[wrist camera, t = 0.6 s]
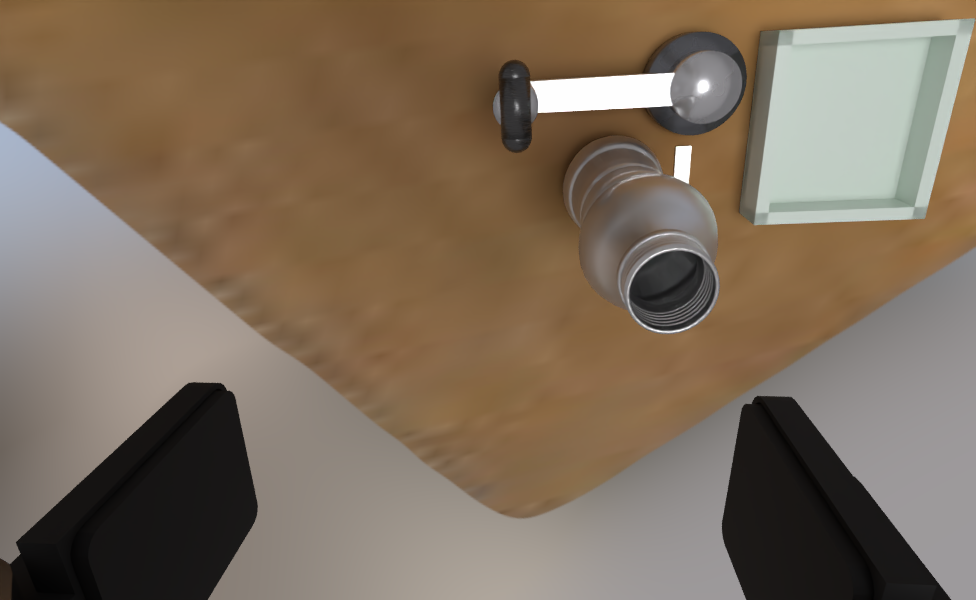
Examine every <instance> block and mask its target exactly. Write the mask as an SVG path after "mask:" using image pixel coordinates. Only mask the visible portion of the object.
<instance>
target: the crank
mask: <svg viewBox="0 0 976 600" xmlns="http://www.w3.org/2000/svg"><path fill="white" fill-rule="evenodd" d="M741 89H742V75H741V71H740V69H739V67H738V65H737V63H736V62H735V61H734V60H733V59H732V58H731V57H730V56H728V55H727V54H725V53H722V52H718V51H709V50H698V51H693V52H690V53H688V54H686V55H684V56H682V57H681V58H680V59H678V60H677V61H676V62H675V63H674V64H673V66H672V67H671V69H670V70H669V72H660V73H642V74H625V75H608V76H591V77H574V78H556V79H539V80H530V72H529V69H528V67H527V66H526V65H525V64H524V63H523V62H521V61H518V60H511V61H508V62H506V63H505V64H504V65H503V66H502V67H501V69H500V72H499V90H498V92H497V94H496V96H495V98H494V101H493V112H494V115H495V118H496V120H497V121H498V122H499V123H500V124H501V137H502V142H503V145H504V147H505V148H506V149H507V150H509V151H511V152H514V153H519V152H523V151H524V150H526V149H527V148H528V147H529V145H530V143H531V140H532V127H531V123H532V122H533V121H534V120H535V118H536V116H537V113H544V112H562V111H581V110H600V109H618V108H637V107H656V106H669V108H670V109H671V110H672V111H673V112H674V113H675V114H676V115H678V116H680V117H682V118H684V119H685V120H687V121H690V122H693V123H697V124H706V123H711V122H714V121H717V120H719V119H721V118H722V117H724V116H725V115H726V114H727V113H729V112H730V111H731V109H732V108H733V107H734V106H735V104H736V102H737V101H738V99H739V96H740V93H741Z"/></svg>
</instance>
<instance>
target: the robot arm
mask: <svg viewBox="0 0 976 600" xmlns="http://www.w3.org/2000/svg"><path fill="white" fill-rule="evenodd" d="M257 508H258V505H257V499H256V495H255V489H254V485H253V480H252V475H251V471H250V466H249V461H248V457H247V452H246V447H245V442H244V437H243V432H242V428H241V423H240V418H239V414H238V409H237V404H236V399H235V396H234V394H233V393H232V392H231V391H227V390H226V388H225V386H224V385H222V384H221V383H196V382H193V383H188V384H187V385H185V386H184V387H183V388H182V389H181V390H180V391H179V392H178V393H176V394H175V395H174V396H173V397H172V398H171V399H170V400H169V401H168V402H167V403H166V404H165V405H163V406H162V408H160V409H159V410H158V411H157V412H156V413H155V414H154V415H153V416H152V417H151V418H149V419H148V420H147V421H146V422H145V423H144V424H143V425H142V426H141V427H140V428H139V429H138V430H136V432H134V433H133V434H132V435H131V436H130V437H129V438H128V439H127V440H126V441H125V442H124V443H122V444H121V445H120V446H119V447H118V448H117V449H116V450H115V451H114V452H113V453H112V454H111V455H109V456H108V457H107V458H106V459H105V460H104V461H103V462H102V463H101V464H100V465H99V466H98V467H97V468H95V470H93V471H92V472H91V473H90V474H89V475H88V476H87V477H86V478H85V479H84V480H83V481H81V482H80V483H79V484H78V485H77V486H76V487H75V488H74V489H73V490H72V491H71V492H70V493H68V494H67V495H66V496H65V497H64V498H63V499H62V500H61V501H60V502H59V503H58V504H57V505H56V506H54V507H53V508H52V509H51V510H50V511H49V512H48V513H47V514H46V515H45V516H44V517H43V518H42V519H40V520H39V521H38V522H37V523H36V524H35V525H34V526H33V527H32V528H31V529H30V530H29V531H27V533H25V534H24V535H23V536H22V537H21V538H20V539H19V540H18V541H17V542H16V544H17V546H18V549H19V551H20V553H21V554H20V555H19V556H18V557H17V558H16V559H15V560H14V561H13V562H12V563H11V564H9V563H7V562H6V561H4V560H3V559H1V558H0V600H208V598H209V597H210V595H211V593H212V592H213V590H214V588H215V587H216V585H217V583H218V582H219V580H220V579H221V577H222V575H223V573H224V572H225V570H226V569H227V567H228V565H229V564H230V562H231V560H232V559H233V557H234V555H235V554H236V552H237V551H238V549H239V547H240V545H241V544H242V542H243V540H244V539H245V537H246V536H247V534H248V532H249V531H250V529H251V528H252V526H253V524H254V522H255V519H256V516H257ZM722 534H723V540H724V544H725V547H726V549H727V551H728V554H729V557H730V559H731V562H732V564H733V567H734V569H735V572H736V575H737V577H738V580H739V582H740V585H741V587H742V590H743V593H744V595H745V598H746V600H951V599H950V598H949V596H948V595H947V594H946V592H945V591H944V590H943V589H942V587H941V586H940V585H939V583H938V582H937V581H936V580H935V578H934V577H933V576H932V574H931V573H930V572H929V570H928V569H927V568H926V567H925V565H924V564H923V563H922V561H921V560H920V559H919V558H918V556H917V555H916V554H915V552H914V551H913V550H912V549H911V547H910V546H909V545H908V544H907V542H906V541H905V539H904V538H903V537H902V535H901V534H900V533H899V532H898V530H897V529H896V528H895V526H894V525H893V524H892V523H891V521H890V520H889V519H888V517H887V516H886V515H885V513H884V512H883V511H882V510H881V508H880V507H879V506H878V504H877V503H876V502H875V500H874V499H873V498H872V497H871V495H870V494H869V493H868V491H867V490H866V489H865V488H864V486H863V485H862V484H861V483H860V482H859V481H858V480H857V479H856V478H855V477H853V476H852V474H851V473H850V471H849V470H848V469H847V468H846V466H845V465H844V464H843V462H842V461H841V460H840V458H839V457H838V456H837V454H836V453H835V452H834V450H833V449H832V448H831V447H830V445H829V444H828V443H827V441H826V440H825V439H824V437H823V436H822V435H821V434H820V432H819V431H818V430H817V428H816V427H815V426H814V424H813V423H812V422H811V420H810V419H809V418H808V417H807V415H806V414H805V413H804V411H803V410H802V409H801V407H800V406H799V405H798V403H797V402H796V401H795V400H794V399H793V398H792V397H775V396H757V397H755V398H754V400H753V402H752V404H745V405H744V406H743V408H742V411H741V417H740V422H739V428H738V434H737V439H736V445H735V451H734V457H733V463H732V468H731V475H730V480H729V486H728V492H727V498H726V503H725V509H724V515H723V520H722Z"/></svg>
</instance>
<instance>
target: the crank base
mask: <svg viewBox="0 0 976 600" xmlns="http://www.w3.org/2000/svg"><path fill="white" fill-rule="evenodd" d="M698 50H709V51H718V52H722V53H725V54H727V55H728V56H730V57H731V58H732V59H733V60H734V61H735V62H736V63H737V65H738V67H739V69H740V71H741V75H742V89H741V93H740V96H739V99H738V101H737V102H736V104H735V106H734V107H733V108H732V109H731V111H730V112H729V113H727V114H726V115H725V116H724V117H722V118H721V119H719V120H717V121H714V122H711V123H706V124H697V123H693V122H690V121H687V120H685V119H684V118H682V117H680V116H678V115H676V114H675V113H674V112H673V111H672V110H671V109H670V108H669V106H656V107H645V108H646V110H647V112H648V113H649V115H650V116H651V117H652V118H653V119H654V120H655V121H656V122H657V123H659V124H660V125H662V126H663V127H665V128H666V129H668V130H670V131H672V132H674V133H677V134H682V135H698V134H702V133H706V132H709V131H711V130H713V129H715V128H717V127H718V126H720V125H721V124H723V123H724V122H725V121H726V120H727V119H728V118H729V117H730V116H731V115H732V114H733V113H734V111H735V110H736V109H737V107H738V105H739V104H740V102H741V100H742V97H743V95H744V91H745V87H746V79H747V74H746V66H745V62H744V59H743V57H742V55H741V53H740V51H739V50H738V48H737V47H736V46H735V45H734V44H733V43H732V42H731V41H730V40H728V39H727V38H725V37H723V36H721V35H719V34H716V33H711V32H690V33H684V34H680V35H677V36H675V37H673V38H671V39H669V40H667V41H666V42H665V43H663V44H662V45H661V46H660V47H659V48H658V49H657V50H656V51H655V52H654V53H653V54H652V56H651V57H650V59H649V60H648V62H647V64H646V66H645V69H644V72H643V73H660V72H669V70H670V69H671V67H672V66H673V64H674V63H675V62H676V61H677V60H678V59H680V58H681V57H682V56H684V55H686V54H688V53H690V52H693V51H698ZM691 147H692V146H676V149H675V163H674V177H675V178H677V179H680V180H682V181H684V182H686V183H688V184H689V171H690V159H691Z"/></svg>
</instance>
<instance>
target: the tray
mask: <svg viewBox="0 0 976 600" xmlns="http://www.w3.org/2000/svg"><path fill="white" fill-rule="evenodd" d="M974 22H975V19H952V20H933V21H917V22H901V23H885V24H869V25H853V26H838V27H822V28H806V29H790V30H774V31H761V33H760V42H759V50H758V58H757V67H756V75H755V83H754V92H753V100H752V108H751V117H750V125H749V133H748V142H747V150H746V159H745V167H744V175H743V184H742V192H741V200H740V209H739V213H740V214H741V215H743V216H744V217H745V218H746V219H747V220H749V221H750V222H751V223H752V224H754V225H767V224H794V223H821V222H848V221H875V220H902V219H925V215H926V211H927V208H928V204H929V200H930V196H931V192H932V188H933V184H934V180H935V176H936V172H937V168H938V164H939V160H940V156H941V152H942V148H943V144H944V140H945V137H946V133H947V129H948V125H949V121H950V117H951V113H952V109H953V105H954V101H955V97H956V93H957V89H958V85H959V81H960V77H961V73H962V69H963V66H964V62H965V58H966V54H967V50H968V46H969V42H970V38H971V34H972V30H973V26H974Z"/></svg>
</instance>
